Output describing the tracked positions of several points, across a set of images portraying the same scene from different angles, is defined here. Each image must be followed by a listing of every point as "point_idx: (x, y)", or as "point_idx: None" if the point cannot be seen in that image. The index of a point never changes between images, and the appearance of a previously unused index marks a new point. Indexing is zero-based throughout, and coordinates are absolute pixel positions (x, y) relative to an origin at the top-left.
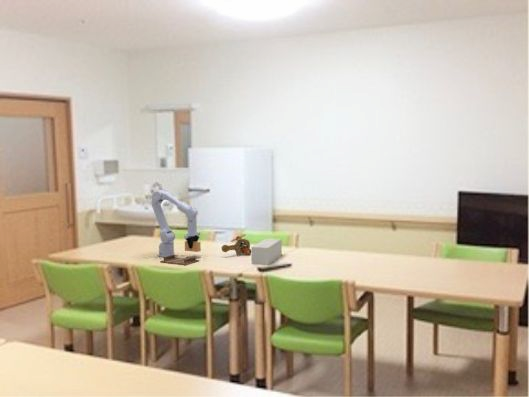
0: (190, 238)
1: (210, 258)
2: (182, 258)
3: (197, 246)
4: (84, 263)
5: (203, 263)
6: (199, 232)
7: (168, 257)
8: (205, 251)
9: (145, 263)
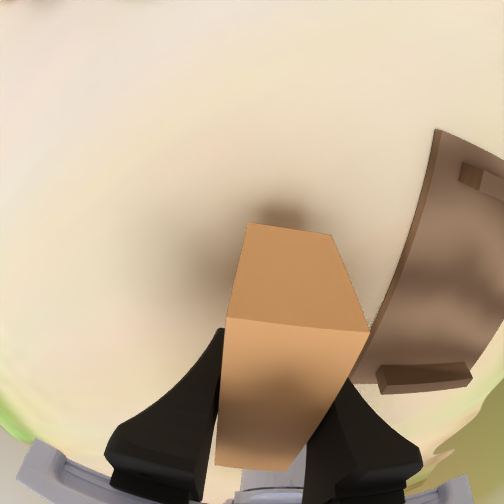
0: (409, 476)
1: (259, 63)
2: (394, 316)
3: (343, 277)
4: (425, 476)
5: (489, 66)
6: (32, 490)
7: (447, 376)
8: (35, 281)
9: (466, 400)
